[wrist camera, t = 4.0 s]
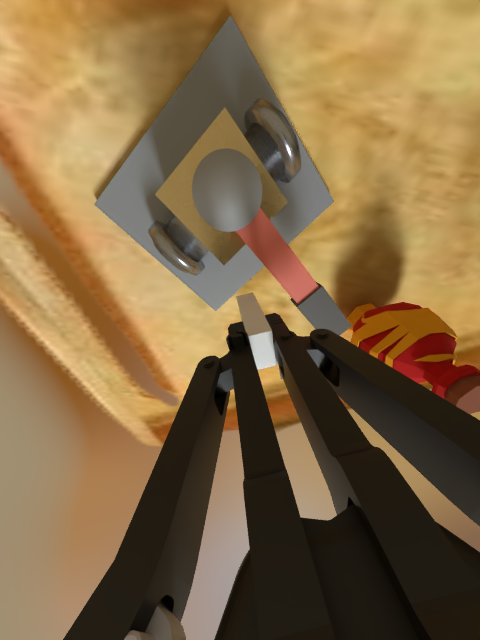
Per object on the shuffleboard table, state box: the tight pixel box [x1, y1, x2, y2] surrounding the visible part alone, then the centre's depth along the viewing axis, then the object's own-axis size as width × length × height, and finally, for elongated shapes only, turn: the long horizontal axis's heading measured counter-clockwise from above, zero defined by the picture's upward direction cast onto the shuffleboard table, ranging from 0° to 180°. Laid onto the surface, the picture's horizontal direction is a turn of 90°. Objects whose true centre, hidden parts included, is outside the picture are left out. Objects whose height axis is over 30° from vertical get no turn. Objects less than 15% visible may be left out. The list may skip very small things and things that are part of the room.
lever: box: [192, 148, 351, 335], centre depth 15 cm, size 16×4×2 cm, turn 43°
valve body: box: [148, 98, 301, 276], centre depth 17 cm, size 14×7×8 cm, turn 133°
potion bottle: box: [347, 302, 480, 414], centre depth 24 cm, size 10×10×15 cm
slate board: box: [94, 15, 334, 311], centre depth 21 cm, size 18×16×1 cm
